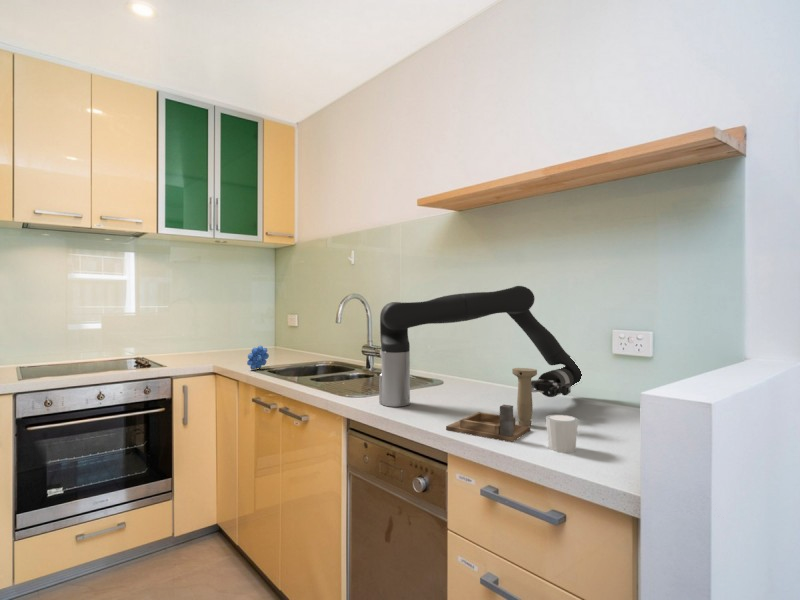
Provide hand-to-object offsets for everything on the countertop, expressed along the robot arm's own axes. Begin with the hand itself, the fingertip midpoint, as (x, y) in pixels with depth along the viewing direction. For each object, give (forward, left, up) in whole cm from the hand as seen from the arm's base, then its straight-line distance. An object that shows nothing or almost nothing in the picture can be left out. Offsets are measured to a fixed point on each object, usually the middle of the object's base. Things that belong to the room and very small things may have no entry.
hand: (535, 390), depth 130 cm
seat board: (-6, -19, -8) cm, 21 cm away
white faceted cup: (+14, -23, -8) cm, 28 cm away
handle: (0, -9, -8) cm, 12 cm away
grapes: (-148, +15, -8) cm, 149 cm away
